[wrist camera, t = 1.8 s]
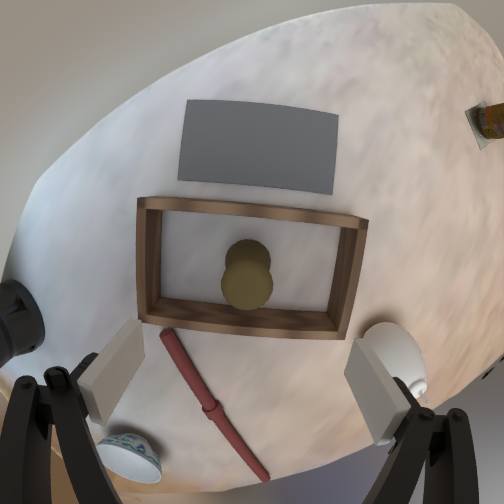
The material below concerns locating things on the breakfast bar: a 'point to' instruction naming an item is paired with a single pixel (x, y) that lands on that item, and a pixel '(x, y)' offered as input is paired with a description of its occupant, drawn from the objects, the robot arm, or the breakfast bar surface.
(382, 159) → the breakfast bar surface
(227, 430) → the red rod with collar
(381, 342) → the white bulb air blower
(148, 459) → the chinaware
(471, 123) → the condiment
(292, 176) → the charcoal mat
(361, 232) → the wooden box
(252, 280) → the olive dumbbell shape
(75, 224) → the breakfast bar surface
